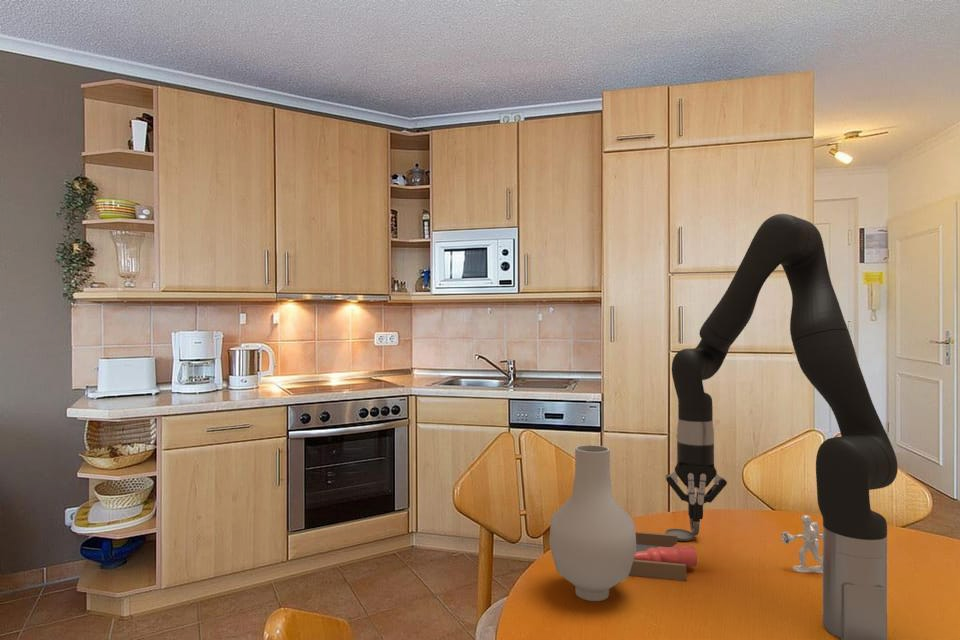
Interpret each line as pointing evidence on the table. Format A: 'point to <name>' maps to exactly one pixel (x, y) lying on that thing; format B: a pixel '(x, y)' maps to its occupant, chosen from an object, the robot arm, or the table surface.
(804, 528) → the figurine
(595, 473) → the vase
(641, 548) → the tray
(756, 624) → the table surface
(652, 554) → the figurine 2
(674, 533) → the pocket watch
